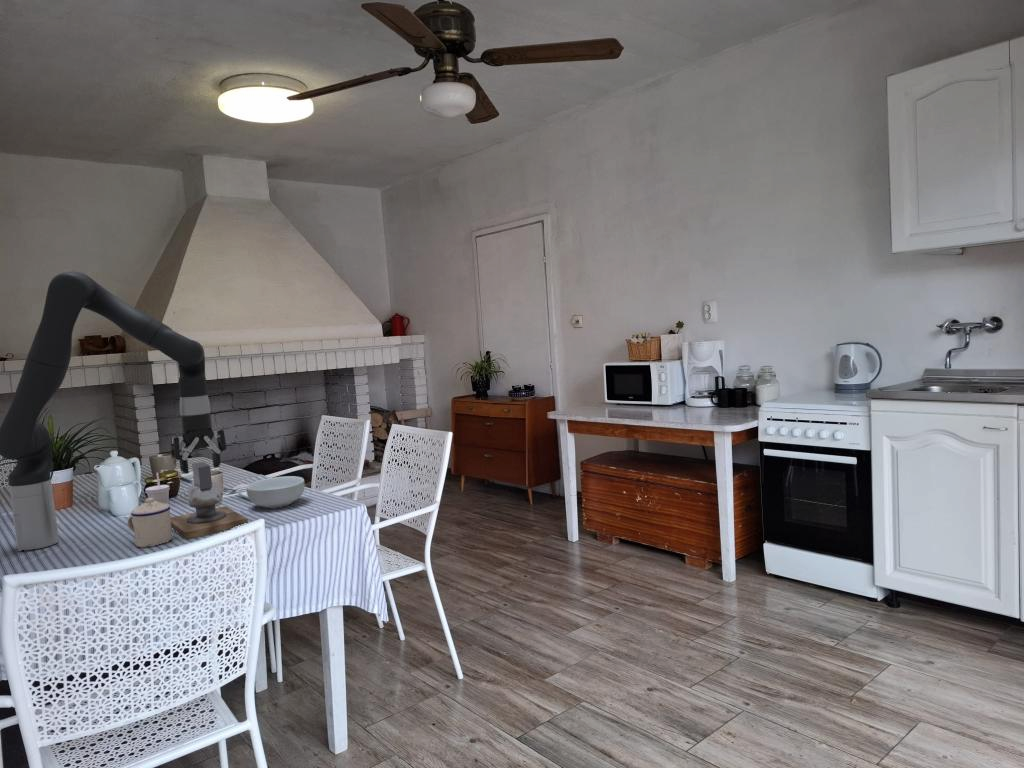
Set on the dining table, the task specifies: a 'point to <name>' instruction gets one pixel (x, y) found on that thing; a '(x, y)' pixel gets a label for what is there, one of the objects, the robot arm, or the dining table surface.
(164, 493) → the smoothie
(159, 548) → the dining table surface
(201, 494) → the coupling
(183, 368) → the robot arm
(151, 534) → the teacup with lid
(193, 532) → the lock base
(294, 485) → the cereal bowl
